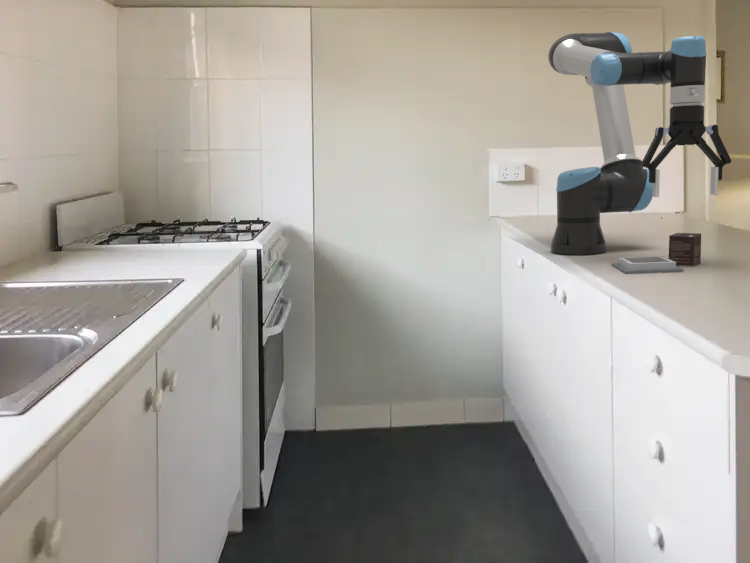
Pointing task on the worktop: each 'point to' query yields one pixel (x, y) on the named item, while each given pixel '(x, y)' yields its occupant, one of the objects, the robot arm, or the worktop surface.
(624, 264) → the grey and white frame
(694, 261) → the box
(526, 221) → the worktop surface
